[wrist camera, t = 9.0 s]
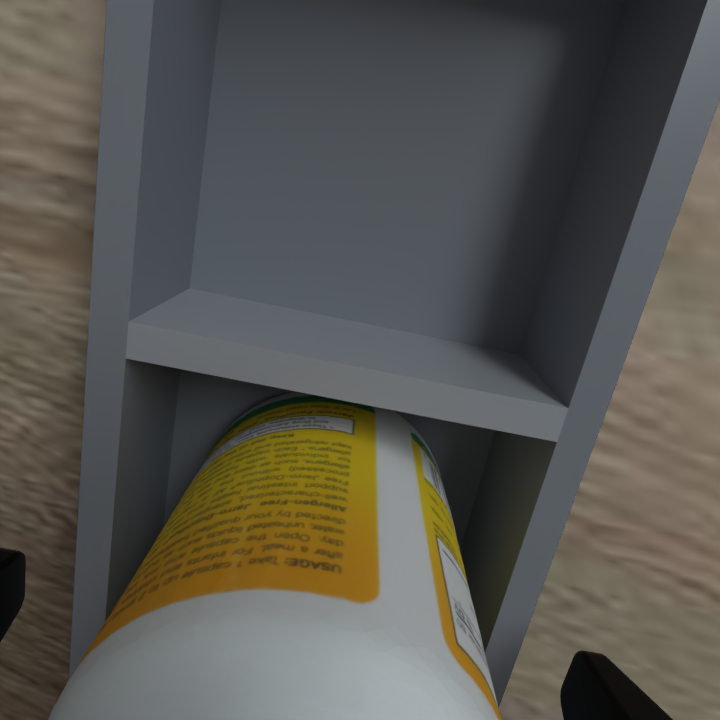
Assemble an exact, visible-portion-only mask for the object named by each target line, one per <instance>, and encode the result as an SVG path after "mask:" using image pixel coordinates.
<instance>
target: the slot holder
mask: <svg viewBox="0 0 720 720" xmlns="http://www.w3.org/2000/svg"><path fill="white" fill-rule="evenodd" d="M719 100H720V0H107V6H106V24H105V42H104V60H103V77H102V95H101V113H100V131H99V149H98V167H97V185H96V202H95V220H94V238H93V256H92V274H91V292H90V309H89V327H88V345H87V363H86V381H85V399H84V417H83V434H82V452H81V470H80V488H79V506H78V524H77V541H76V559H75V577H74V595H73V613H72V631H71V648H70V666H69V679H70V678H71V676H72V674H73V673H74V671H75V670H76V668H77V666H78V665H79V663H80V661H81V660H82V658H83V657H84V655H85V654H86V652H87V650H88V649H89V647H90V646H91V644H92V642H93V641H94V639H95V638H96V636H97V635H98V633H99V631H100V630H101V628H102V627H103V625H104V623H105V622H106V620H107V619H108V617H109V615H110V614H111V612H112V611H113V609H114V607H115V606H116V604H117V602H118V601H119V599H120V598H121V596H122V595H123V593H124V592H125V590H126V588H127V587H128V585H129V583H130V582H131V580H132V579H133V577H134V575H135V573H136V572H137V570H138V568H139V567H140V565H141V564H142V562H143V560H144V559H145V557H146V556H147V554H148V552H149V551H150V549H151V548H152V546H153V544H154V543H155V541H156V539H157V537H158V536H159V534H160V533H161V531H162V529H163V528H164V526H165V524H166V523H167V521H168V520H169V518H170V516H171V515H172V513H173V511H174V510H175V508H176V506H177V505H178V503H179V502H180V500H181V499H182V497H183V495H184V493H185V492H186V490H187V488H188V487H189V485H190V484H191V482H192V480H193V479H194V477H195V476H196V474H197V473H198V471H199V470H200V468H201V467H202V465H203V463H204V461H205V460H206V458H207V457H208V455H209V453H210V452H211V450H212V449H213V447H214V446H215V444H216V443H217V442H218V440H219V439H220V437H221V436H222V435H223V433H224V432H225V431H226V430H227V429H228V427H229V426H230V425H231V424H232V423H233V422H234V421H236V420H237V419H238V418H239V417H240V416H241V415H243V414H244V413H245V412H247V411H248V410H250V409H251V408H253V407H254V406H256V405H258V404H260V403H262V402H264V401H266V400H269V399H271V398H274V397H277V396H280V395H283V394H287V393H291V392H301V393H307V394H312V395H317V396H322V397H327V398H332V399H337V400H343V401H348V402H353V403H358V404H363V405H368V406H374V407H379V408H384V409H389V410H393V411H395V412H396V413H398V414H399V415H400V416H402V417H403V418H404V419H405V420H406V421H407V422H408V423H409V424H410V425H411V426H413V428H414V429H415V430H416V431H417V432H418V433H419V434H420V435H421V437H422V438H423V440H424V441H425V442H426V444H427V445H428V447H429V449H430V451H431V453H432V455H433V457H434V459H435V461H436V463H437V466H438V469H439V472H440V475H441V478H442V482H443V486H444V490H445V494H446V497H447V501H448V504H449V507H450V510H451V515H452V519H453V523H454V527H455V532H456V537H457V541H458V545H459V549H460V553H461V557H462V561H463V565H464V569H465V573H466V578H467V582H468V587H469V591H470V595H471V599H472V603H473V606H474V610H475V614H476V618H477V622H478V626H479V630H480V635H481V639H482V643H483V647H484V652H485V656H486V660H487V664H488V668H489V672H490V676H491V680H492V684H493V688H494V692H495V696H496V700H497V705H498V708H499V705H500V703H501V700H502V697H503V694H504V692H505V689H506V686H507V683H508V681H509V678H510V675H511V672H512V670H513V667H514V664H515V661H516V659H517V656H518V653H519V650H520V648H521V645H522V642H523V639H524V636H525V634H526V631H527V628H528V625H529V623H530V620H531V617H532V614H533V612H534V609H535V606H536V603H537V601H538V598H539V595H540V592H541V590H542V587H543V584H544V581H545V579H546V576H547V573H548V570H549V568H550V565H551V562H552V559H553V557H554V554H555V551H556V548H557V546H558V543H559V540H560V537H561V535H562V532H563V529H564V526H565V524H566V521H567V518H568V515H569V513H570V510H571V507H572V504H573V502H574V499H575V496H576V493H577V491H578V488H579V485H580V482H581V480H582V477H583V474H584V471H585V469H586V466H587V463H588V460H589V458H590V455H591V452H592V449H593V447H594V444H595V441H596V438H597V436H598V433H599V430H600V427H601V425H602V422H603V419H604V416H605V414H606V411H607V408H608V405H609V403H610V400H611V397H612V394H613V392H614V389H615V386H616V383H617V381H618V378H619V375H620V372H621V370H622V367H623V364H624V361H625V359H626V356H627V353H628V350H629V348H630V345H631V342H632V339H633V337H634V334H635V331H636V328H637V326H638V323H639V320H640V317H641V315H642V312H643V309H644V306H645V304H646V301H647V298H648V295H649V293H650V290H651V287H652V284H653V282H654V279H655V276H656V273H657V271H658V268H659V265H660V262H661V260H662V257H663V254H664V251H665V249H666V246H667V243H668V240H669V238H670V235H671V232H672V229H673V227H674V224H675V221H676V218H677V216H678V213H679V210H680V207H681V204H682V202H683V199H684V196H685V193H686V191H687V188H688V185H689V182H690V180H691V177H692V174H693V171H694V169H695V166H696V163H697V160H698V158H699V155H700V152H701V149H702V147H703V144H704V141H705V138H706V136H707V133H708V130H709V127H710V125H711V122H712V119H713V116H714V114H715V111H716V108H717V105H718V103H719Z"/></svg>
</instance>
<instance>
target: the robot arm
mask: <svg viewBox="0 0 720 720" xmlns="http://www.w3.org/2000/svg"><path fill="white" fill-rule="evenodd" d="M25 569H26V560H25V555H24V554H23V553H22V552H20V551H16V550H10V549H4V548H0V642H1V640H2V639H3V637H4V635H5V634H6V632H7V630H8V629H9V627H10V625H11V624H12V622H13V620H14V619H15V617H16V615H17V614H18V612H19V610H20V608H21V606H22V603H23V600H24V596H25ZM560 698H561V707H562V712H563V717H564V720H673V719H672V718H671V717H670V716H669V715H667V714H666V713H665V712H664V711H663V710H662V709H661V708H660V707H659V706H658V705H657V704H656V703H655V702H654V701H653V700H652V699H651V698H649V697H648V696H647V695H646V694H645V693H644V692H643V691H642V690H641V689H640V688H639V687H638V686H637V685H636V684H635V683H634V682H633V681H631V680H630V679H629V678H628V677H627V676H626V675H625V674H624V673H623V672H622V671H621V670H620V669H619V668H618V667H617V666H616V665H615V664H613V663H612V662H611V661H610V660H609V659H608V658H607V657H606V656H604V655H602V654H600V653H594V652H588V651H578V652H577V653H576V654H575V655H574V657H573V660H572V662H571V665H570V667H569V670H568V672H567V675H566V677H565V680H564V682H563V685H562V688H561V696H560Z"/></svg>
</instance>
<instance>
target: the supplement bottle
mask: <svg viewBox="0 0 720 720" xmlns="http://www.w3.org/2000/svg"><path fill="white" fill-rule="evenodd" d="M48 720H501V718H500V713H499V709H498V705H497V700H496V696H495V692H494V688H493V684H492V680H491V676H490V672H489V668H488V664H487V660H486V656H485V652H484V647H483V643H482V639H481V635H480V630H479V626H478V622H477V618H476V614H475V610H474V606H473V603H472V599H471V595H470V591H469V587H468V582H467V578H466V573H465V569H464V565H463V561H462V557H461V553H460V549H459V545H458V541H457V537H456V532H455V527H454V523H453V519H452V515H451V510H450V507H449V504H448V501H447V497H446V494H445V490H444V486H443V482H442V478H441V475H440V472H439V469H438V466H437V463H436V461H435V459H434V457H433V455H432V453H431V451H430V449H429V447H428V445H427V444H426V442H425V441H424V440H423V438H422V437H421V435H420V434H419V433H418V432H417V431H416V430H415V429H414V428H413V426H411V425H410V424H409V423H408V422H407V421H406V420H405V419H404V418H403V417H402V416H400V415H399V414H398V413H396V412H395V411H393V410H389V409H384V408H379V407H374V406H368V405H363V404H358V403H353V402H348V401H343V400H337V399H332V398H327V397H322V396H317V395H312V394H307V393H301V392H291V393H287V394H283V395H280V396H277V397H274V398H271V399H269V400H266V401H264V402H262V403H260V404H258V405H256V406H254V407H253V408H251V409H250V410H248V411H247V412H245V413H244V414H243V415H241V416H240V417H239V418H238V419H237V420H236V421H234V422H233V423H232V424H231V425H230V426H229V427H228V429H227V430H226V431H225V432H224V433H223V435H222V436H221V437H220V439H219V440H218V442H217V443H216V444H215V446H214V447H213V449H212V450H211V452H210V453H209V455H208V457H207V458H206V460H205V461H204V463H203V465H202V467H201V468H200V470H199V471H198V473H197V474H196V476H195V477H194V479H193V480H192V482H191V484H190V485H189V487H188V488H187V490H186V492H185V493H184V495H183V497H182V499H181V500H180V502H179V503H178V505H177V506H176V508H175V510H174V511H173V513H172V515H171V516H170V518H169V520H168V521H167V523H166V524H165V526H164V528H163V529H162V531H161V533H160V534H159V536H158V537H157V539H156V541H155V543H154V544H153V546H152V548H151V549H150V551H149V552H148V554H147V556H146V557H145V559H144V560H143V562H142V564H141V565H140V567H139V568H138V570H137V572H136V573H135V575H134V577H133V579H132V580H131V582H130V583H129V585H128V587H127V588H126V590H125V592H124V593H123V595H122V596H121V598H120V599H119V601H118V602H117V604H116V606H115V607H114V609H113V611H112V612H111V614H110V615H109V617H108V619H107V620H106V622H105V623H104V625H103V627H102V628H101V630H100V631H99V633H98V635H97V636H96V638H95V639H94V641H93V642H92V644H91V646H90V647H89V649H88V650H87V652H86V654H85V655H84V657H83V658H82V660H81V661H80V663H79V665H78V666H77V668H76V670H75V671H74V673H73V674H72V676H71V678H70V679H69V681H68V683H67V684H66V686H65V687H64V689H63V691H62V693H61V695H60V696H59V698H58V700H57V702H56V704H55V706H54V707H53V709H52V712H51V714H50V716H49V718H48Z"/></svg>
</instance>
